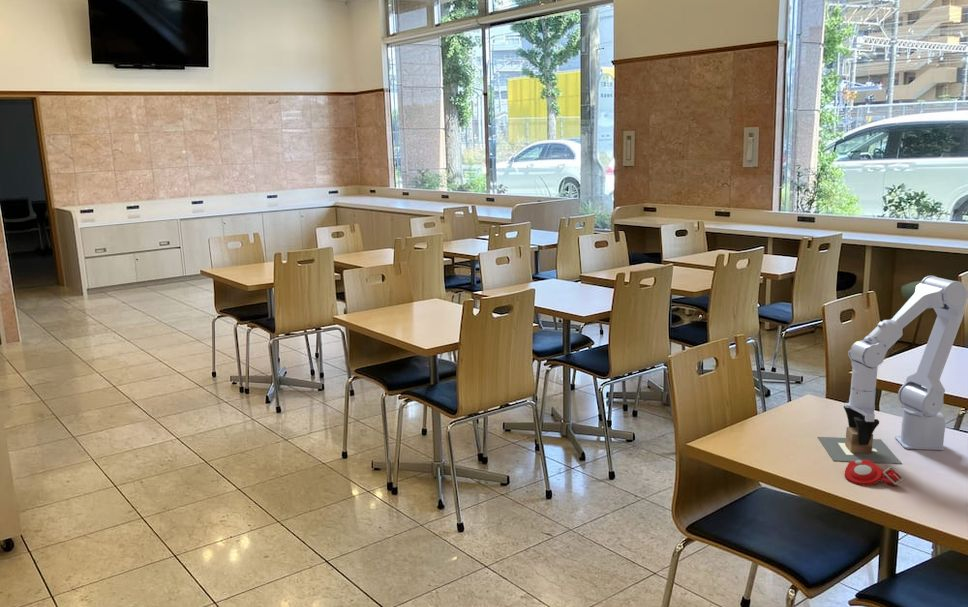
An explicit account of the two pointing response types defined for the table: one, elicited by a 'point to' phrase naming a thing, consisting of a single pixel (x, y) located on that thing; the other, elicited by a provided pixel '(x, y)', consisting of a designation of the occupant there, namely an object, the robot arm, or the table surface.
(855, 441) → the walnut cube
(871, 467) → the tracker holder
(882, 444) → the letter mat
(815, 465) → the table surface
